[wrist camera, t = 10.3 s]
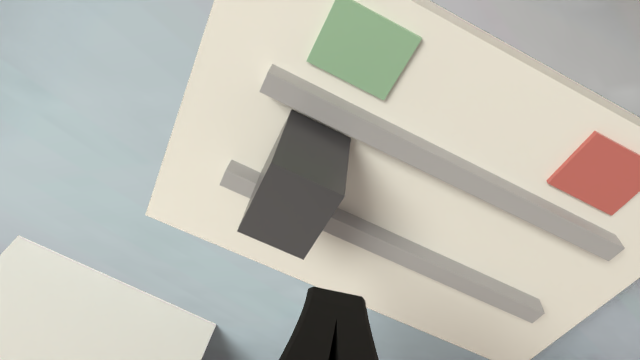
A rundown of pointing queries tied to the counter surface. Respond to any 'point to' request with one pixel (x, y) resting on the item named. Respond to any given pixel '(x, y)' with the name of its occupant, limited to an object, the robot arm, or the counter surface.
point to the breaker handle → (298, 186)
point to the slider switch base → (416, 166)
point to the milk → (86, 313)
